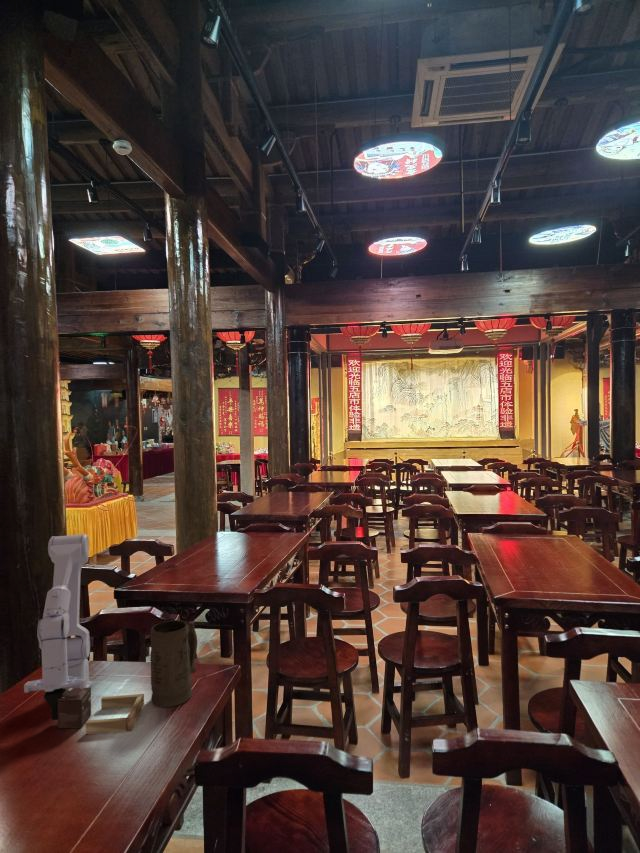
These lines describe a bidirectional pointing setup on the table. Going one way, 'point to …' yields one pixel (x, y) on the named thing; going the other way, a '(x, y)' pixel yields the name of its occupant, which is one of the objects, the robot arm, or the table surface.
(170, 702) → the beer stein
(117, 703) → the slot rails
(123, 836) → the table surface
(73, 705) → the box
